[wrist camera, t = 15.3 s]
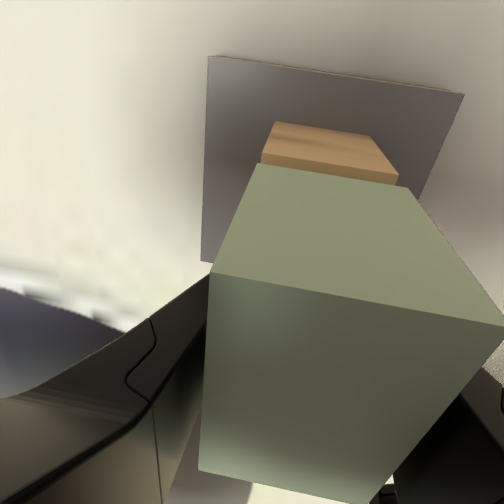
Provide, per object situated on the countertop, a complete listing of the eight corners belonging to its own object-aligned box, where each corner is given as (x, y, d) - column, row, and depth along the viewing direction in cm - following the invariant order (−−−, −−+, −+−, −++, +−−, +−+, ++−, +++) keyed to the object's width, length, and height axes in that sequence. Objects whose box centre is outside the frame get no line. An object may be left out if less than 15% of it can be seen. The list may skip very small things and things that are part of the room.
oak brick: (332, 253, 16) (341, 322, 12) (257, 240, 17) (241, 303, 13) (369, 135, 13) (399, 174, 9) (275, 120, 13) (261, 152, 9)
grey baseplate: (371, 276, 19) (376, 293, 17) (207, 247, 19) (200, 260, 18) (449, 90, 13) (464, 94, 12) (217, 55, 14) (208, 56, 12)
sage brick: (343, 341, 12) (365, 506, 7) (236, 321, 12) (198, 470, 8) (408, 187, 8) (513, 328, 4) (257, 162, 8) (209, 271, 4)
